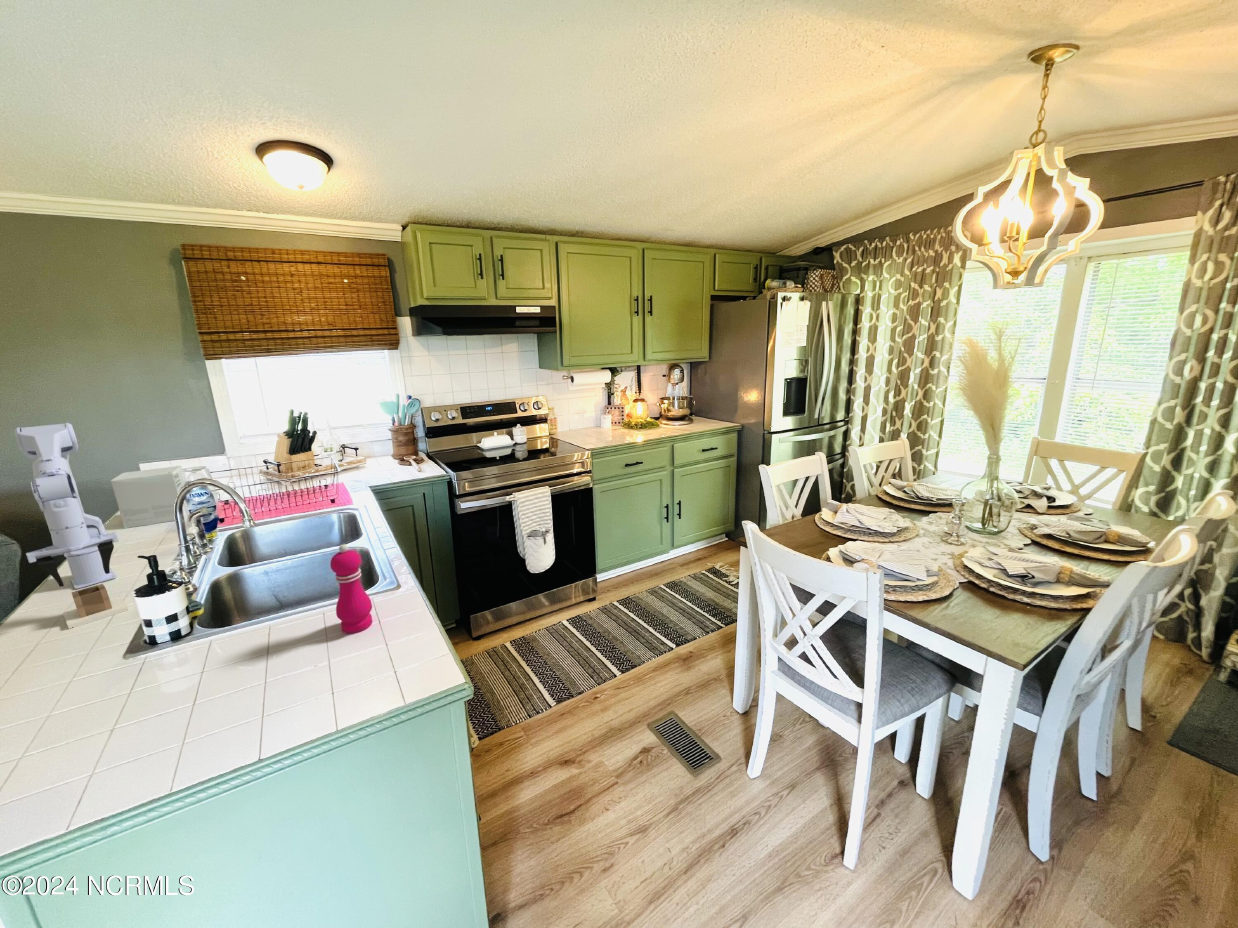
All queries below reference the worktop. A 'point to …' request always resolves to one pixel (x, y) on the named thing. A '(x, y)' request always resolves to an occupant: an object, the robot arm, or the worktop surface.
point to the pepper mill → (351, 592)
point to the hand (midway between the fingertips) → (84, 578)
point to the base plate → (75, 620)
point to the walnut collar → (91, 600)
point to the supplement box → (147, 495)
